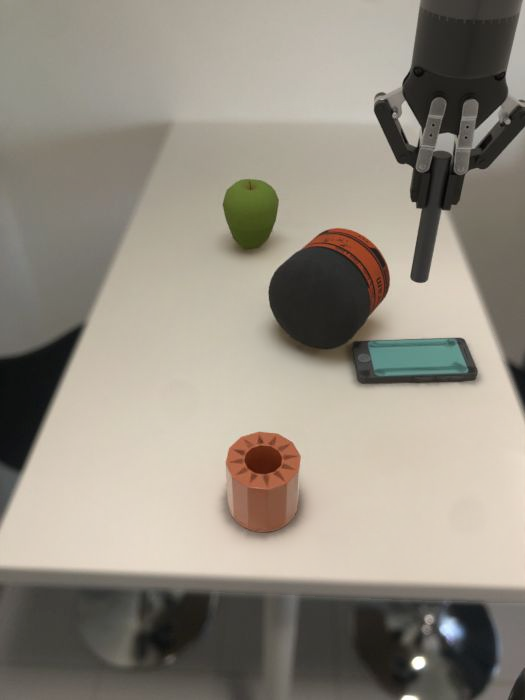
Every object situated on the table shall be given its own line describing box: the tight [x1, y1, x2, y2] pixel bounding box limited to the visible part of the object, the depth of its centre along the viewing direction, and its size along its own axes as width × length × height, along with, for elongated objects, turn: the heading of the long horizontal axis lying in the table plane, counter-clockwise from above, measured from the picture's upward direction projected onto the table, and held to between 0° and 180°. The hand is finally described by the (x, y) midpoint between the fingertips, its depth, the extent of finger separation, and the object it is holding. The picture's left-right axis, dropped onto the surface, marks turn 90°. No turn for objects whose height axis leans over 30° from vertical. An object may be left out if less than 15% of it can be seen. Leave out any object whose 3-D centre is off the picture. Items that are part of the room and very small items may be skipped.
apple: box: [222, 178, 280, 251], centre depth 105 cm, size 9×8×12 cm
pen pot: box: [225, 431, 302, 533], centre depth 69 cm, size 7×7×7 cm
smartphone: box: [351, 337, 479, 384], centre depth 87 cm, size 7×1×15 cm
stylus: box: [409, 150, 452, 284], centre depth 64 cm, size 2×2×14 cm
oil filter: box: [267, 227, 391, 350], centre depth 88 cm, size 13×12×13 cm
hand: (432, 205), depth 63 cm, fingers closed on stylus, 2 cm apart
